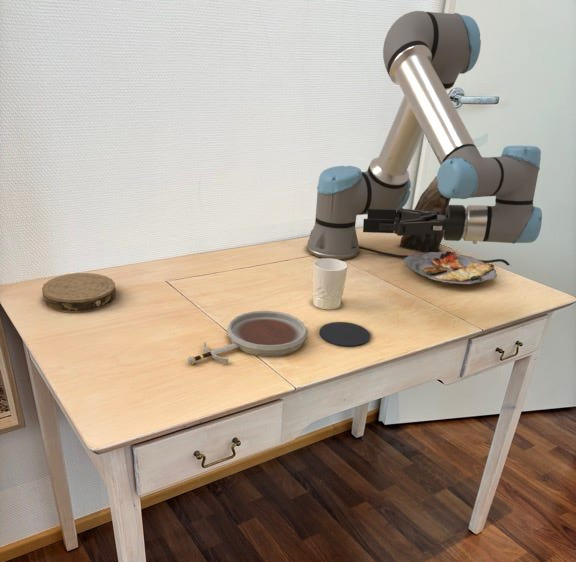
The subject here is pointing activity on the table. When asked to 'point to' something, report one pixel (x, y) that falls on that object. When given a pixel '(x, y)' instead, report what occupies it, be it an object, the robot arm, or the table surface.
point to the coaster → (344, 334)
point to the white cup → (328, 283)
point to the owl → (432, 203)
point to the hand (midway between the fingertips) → (365, 220)
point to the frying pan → (261, 335)
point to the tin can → (79, 292)
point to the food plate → (450, 267)
